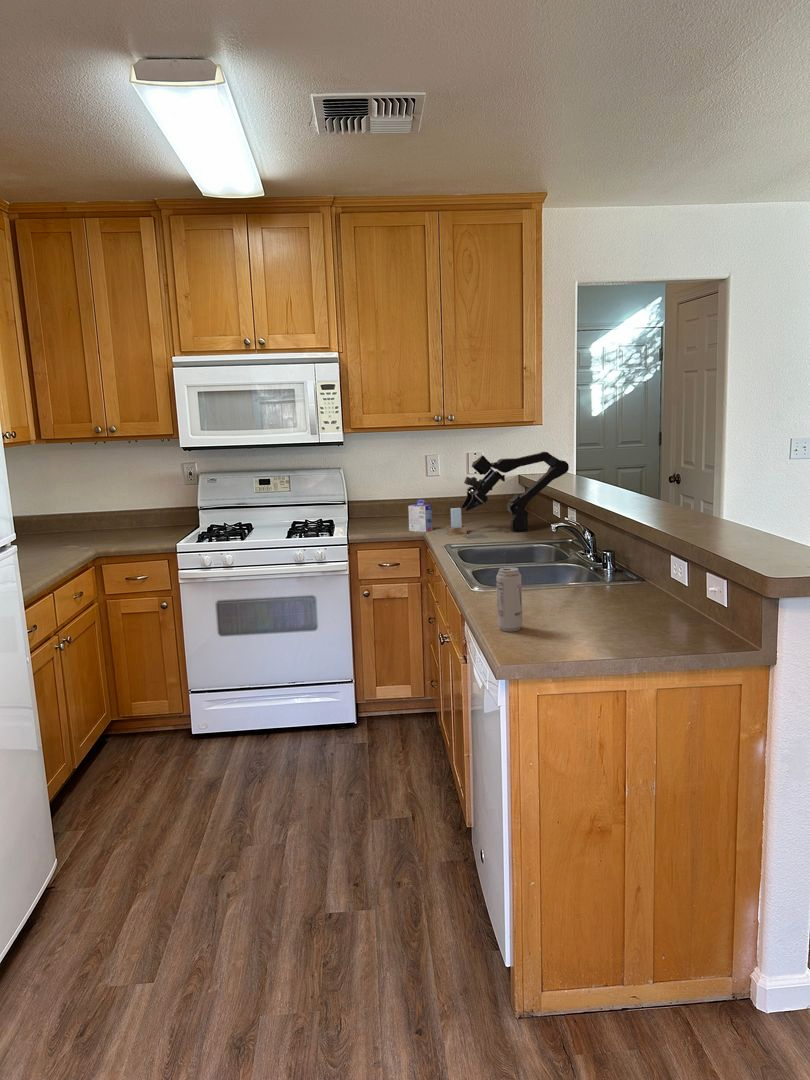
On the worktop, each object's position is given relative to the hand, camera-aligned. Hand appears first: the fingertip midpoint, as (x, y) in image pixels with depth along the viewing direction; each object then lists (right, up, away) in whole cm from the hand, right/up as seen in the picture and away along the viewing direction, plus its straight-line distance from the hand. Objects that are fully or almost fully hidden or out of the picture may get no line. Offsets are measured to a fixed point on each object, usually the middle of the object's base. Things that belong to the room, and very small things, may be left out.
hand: (464, 509), depth 326 cm
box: (-3, -11, +1) cm, 12 cm away
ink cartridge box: (-18, -10, +16) cm, 26 cm away
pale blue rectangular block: (-3, -11, +1) cm, 11 cm away
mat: (+4, -13, -8) cm, 15 cm away
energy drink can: (0, -36, -141) cm, 145 cm away
